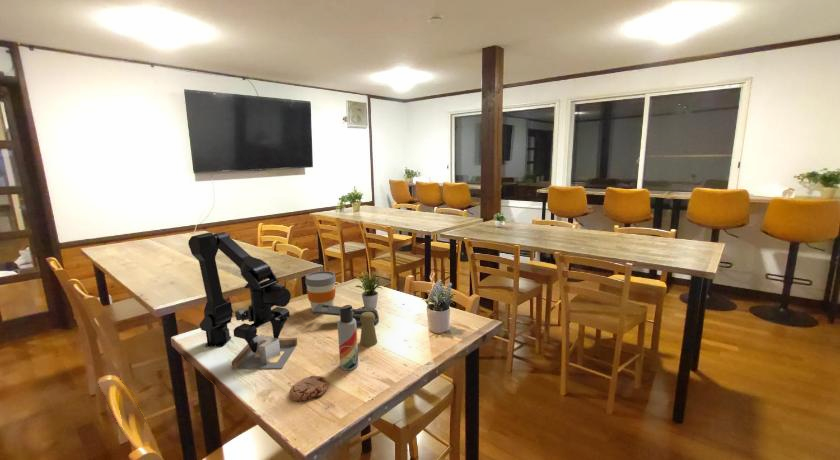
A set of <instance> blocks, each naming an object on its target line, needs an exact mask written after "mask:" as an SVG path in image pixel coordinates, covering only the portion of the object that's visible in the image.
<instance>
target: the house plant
mask: <svg viewBox="0 0 840 460" xmlns="http://www.w3.org/2000/svg"><path fill="white" fill-rule="evenodd" d="M377 273H378V271H376V272H375V270H373V271H372V274H371V277H370V275H369V272H368V271H366V275H365V274H364V272H362V271H361V276H362V278H360V277H358V276H356V278H357V279H358V281H360V282H361V283H362V284H361V285H359V284H357V285H355V286H354V287H355V288H360V289H363V290H364V291H363V292H362V293H361V298H362V302H363V306H364V309H376V308H378V307H377V306H378V299H379V292H378V291H377V290H379V289H381V290H383V287H381V286H382V285H383V284H382V283H383V281H381V282H379V280H380V279H383V278H385V277H384V276H385V275H386V274H382V275H380V276H378V277H376V276H377Z"/></svg>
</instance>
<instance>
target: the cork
mask: <svg viewBox="0 0 840 460" xmlns="http://www.w3.org/2000/svg"><path fill="white" fill-rule="evenodd" d="M360 321H361V323H362V327H360V328H361V329H360V341H359V344H360V346H362V347H365V348H366V347H368V348H370V347H373V346H375V345H377V343H378V338H377V333H376V327H375V326H374V321H375V315H374V314H373V313H372V312H364V313H362V314H361V316H360Z"/></svg>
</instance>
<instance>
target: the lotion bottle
mask: <svg viewBox="0 0 840 460" xmlns="http://www.w3.org/2000/svg"><path fill="white" fill-rule="evenodd" d="M340 307H341V308H340V316H339V317H340V318H339V319H338V321H337V335H338V337H337V338H338V353H339V355H338V356H339V365H340V368H341V369H342V370H344V371H351V370H354V369H356V368H358V366H359V352H358V351H359V350H358V349H359V348H358V331H357V330H358V329H357V327H356V320H355V319H354V318H353V313H354V312H353V310H352V309H353V306H352V305H351V304H346V305H343V306H340Z"/></svg>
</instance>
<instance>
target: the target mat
mask: <svg viewBox="0 0 840 460" xmlns="http://www.w3.org/2000/svg"><path fill="white" fill-rule="evenodd" d="M296 347H297V346H280V356H279V357H277V358H276V359H274V360H273V361H271V362H270V363H268V364H263V363H261V359H260V355H258V354H257V352H256V353H253V352H252V351H251V352H250V354H249V355H248V356H247V357H246V358H245V360H244V361H243V362H242V363H241V364H240V365H239V367H238V368H237V369H236V370H278V369H279V370H280V369H283V367H284V366H285V364H286V363H287V362H288V360H289V358H290V356H292V353H293V352H294V350H295V349H296Z"/></svg>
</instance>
